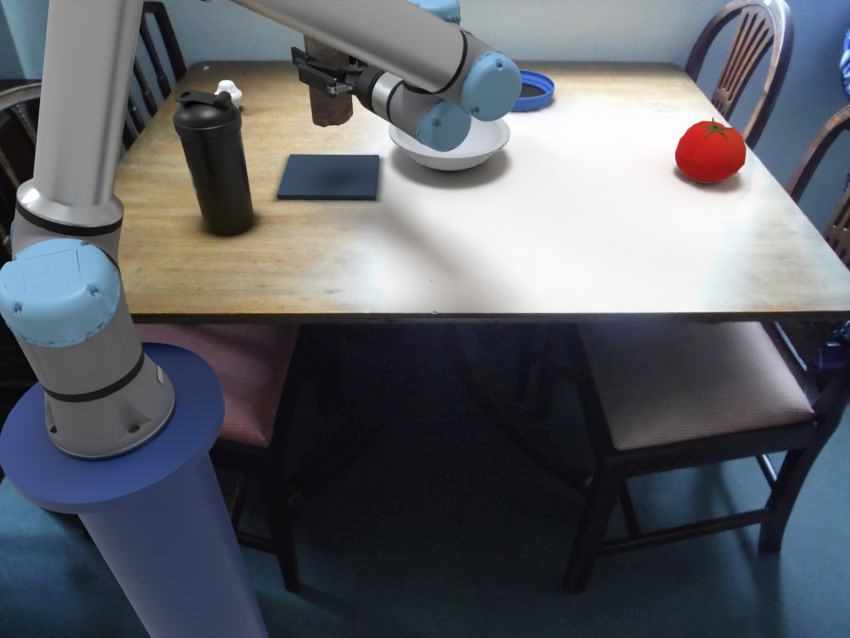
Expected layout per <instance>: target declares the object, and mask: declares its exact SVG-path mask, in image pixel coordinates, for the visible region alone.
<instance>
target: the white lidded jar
mask: <svg viewBox="0 0 850 638" xmlns="http://www.w3.org/2000/svg"><path fill="white" fill-rule="evenodd" d="M221 91H227V92H229V93H230V94H231V97H232V100H231V101H232V103H233V104H234V105H235V106H236V107H237V108H238V109H239V110H240V106H241V104H242V99H243V93H242V91H241V90H240V89H239V88H238V87H237V86H236V84H235V83H234V82H233V81H232V80H229V79H225V80H221V81H219V83H218V84H217V89H216V91H215V92H214V94H215V95H218V94H219V93H220V92H221Z"/></svg>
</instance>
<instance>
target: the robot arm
mask: <svg viewBox="0 0 850 638" xmlns="http://www.w3.org/2000/svg"><path fill="white" fill-rule="evenodd" d="M200 1H201V2H204V3H211V2H213V1H214V0H200ZM228 1H229V2H231V3H234V4H236V5H238V6H240V7H242V8H245V9H247V10H249V11H251V12H253V13H256V14H258V15H260V16H261V17H265V18H266V19H269V20H271V21H273V22H276V23H277V24H280V25H282V26H284V27H286V28H289V29H291V30H293V31H295V32H297V33H299V34H302V35H303V34H304V35H306V36H308V37H311V38H313V39H315V40H317V41H319V42H322V43H324V44H326V45H328V46H331V47H333V48H335V49H337V50H339V51H342V52H344V53H346V54H348V55H349V65H351V66H356V65H357V67H351V66H350V67H348V66H343V67H341V68H339V67H335V66H331V65H327V64H324V63H320V62H316V61H314V57H312V56H310V55H309V54H307V53H305V50H304V51H303V50H302V49H300V48H298V47H296V45H295V46H290V52H291V60H292V64H293V65H294V66H296V68H297V73H298V81H299V82H301V83H303V84H305V85H307V86H308V87H309V86H311V87H313V88H315V89H317V90H320V91H322V92H324V93H326V94H327V95H328V96H329V97H330V98H332V99H335V98H337V94H338V93H339V92H345V91H346V93H347V94H350V95H352V96H354V97H356V99H357V100H358V102H359V103H360V105H361V106H362V107H363V108H364V109H365V110H368V111H369V112H371V113H372V114H374V115H376V117H377V116H378V117H379V118H381V119H383V120H384V121H386V122H387V123H389V124H390V123H391V124H393V125H394V126H395V127H397V128H399V129H400V130H402V131H403V132H405V133H406V134H408V135H409V136H411V137H412V138H414V139H415V140H417V141H418V142H419V143H420V144H422V145H425V146H427V147H429V148H431V149H434V150H436V151H439V152H448V151H451V150H453V149H455V148H457V147H458V146H459V145H461V144H462V142H463V141H464V140H465V139H466V137H467V135H468V133H469V131H470V128H471V121H472V118H471V116H473V117H474V118H476V119H478V120H480V121H484V122H490V121H495V120H498V119H500V118H501V119H503V118H504V117H506V116H507V115H508V114H509V113H510V112H511V111H512V108H513V107H514V105H515V104H516V102H517V100H518V98H519V96H520V93H521V89H522V77H521V73H520V70H519V67H518V65H517V64H516V63H515V62H514V61H513V60H512V59H510V58H509V57H508V55H507V54H505V52H502V51H500V50H498V49H496V48H494V47H492V46H491V45H489V44H488V43H486V42H485V41H483V40H481V39H480V38H479V37H476V36H475V34H473V33H472V32H470V31H469V30H467V29H465V28H464V27H462V26H461V21H462V17H461V4H460V1H459V0H228ZM144 2H145V0H49V1H48V11H47V12H48V13H47V24H46V34H45V45H44V55H43V67H42V77H41V89H40V99H39V100H40V101H39V109H38V121H37V122H38V124H37V132H36V143H35V155H34V166H33V177H32V178H30V179H28V180H26V181H25V182H23V183H21V184H20V185H19V187H18V188H17V190H16V198H15V209H14V219H13V221H12V222H11V227H10V246H11V261H7V262H6V263H4V264H3V266H2V267H1V269H0V315H1V317H2V319H3V320H4V321H5V325H7V327H8V328H9V329H10V331H11V332H12V334H13V336H14V337H15V339H16V342H17V343H18V346H19V347H20V348H21V350H22V353H23V354H24V356H25V358H26V359H27V361H28V363H29V365H30V367H31V369H32V370H33V372H34V374H35V376H36V378H37V380H38V382H39V381H40V383H41V385H42V387H43V389H44V393H45V423H46V428H47V431H48V434H49V436H50V438H51V440H52V442H53V443H54V445H55V447H56V448H57V449H58V450H59V451H60V452H61V453H63V454H65V455H66V456H68V457H71V458H74V459H77V460H82V461H104V460H110V459H115V458H119V457H122V456H125V455H127V454H130V453H132V452H134V451H136V450H138V449H140V448H142V447H144V446H145V445H147V444H148V443H150V442H151V441H152V440H154V439H155V438H156V437H157V436H158V435H159V434H160V433H161V432H162V431H163V430H164V429H165V428H166V427H167V425H168V424H169V422H170V421H171V419H172V417H173V415H174V412H175V409H176V394H175V391H174V388H173V385H172V383H171V381H170V380H169V378H168V376H167V375H166V374H165V373H164V372H163V371H162V369H161V368H160V367H159V366H158V367H157V366H156V365H155V363H154V362H153V361H152V360H151V359H150V358H149V357H148V356H147V355H146V354H145V353H144V350H143V348H142V345H141V342H142V341H141V339H140V336H139V334H138V332H137V329H136V326H135V324H134V321H133V318H132V315H131V312H130V309H129V306H128V302H127V297H126V292H125V287H124V282H123V278H122V273H121V268H120V263H119V247H120V240H121V234H122V229H123V221H124V216H125V215H124V214H125V205H124V203H123V201H122V200H121V199H120V197H118V195H117V194H116V193H115V185H116V181H117V174H118V167H119V161H120V155H121V149H122V148H121V147H122V141H123V137H124V136H123V135H124V128H125V124H126V123H125V122H126V117H127V116H126V115H127V110H128V104H129V103H128V102H129V98H130V97H129V96H130V90H131V85H132V77H133V71H134V64H135V58H136V54H137V53H136V52H137V45H138V39H139V33H140V27H141V20H142V14H143V9H144Z"/></svg>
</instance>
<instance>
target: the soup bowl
mask: <svg viewBox="0 0 850 638" xmlns="http://www.w3.org/2000/svg"><path fill="white" fill-rule="evenodd" d="M471 118H472V121H471V128H470V131H469V133H468V135H467V137H466V139H465V140H464V141H463V142H462V144H461V145H459V146H458V147H457V148H455V149H453V150H451V151H448V152H439V151H436V150H434V149H431V148H429V147H427V146H425V145H422V144H420V143H419V142H418V141H417V140H415V139H414V138H412V137H411V136H409V135H408V134H406V133H405V132H403V131H402V130H400V129H399V128H397V127H395V126H394V125H393V124H391V123H389V126H388V136H389V138H390V140H391V141H392V142H393V144H395V146H397V147H399V148H400V149H402V151H403V152H404V153H405V154H406V155H407V156H408V157H409V158H410V159H411V160H413V161H414V162H416V163H418V164H420V165H422V166H423V167H427V168H430V169H434V170H438V171H461V170H466V169H470V168H473V167H476V166H478V165H480V164H482V163H484V162H486V161H487V160H488V159H490V158H491V157H492V156H493V155H495V153H496V152H498V151H499V150H501V149H502V148H503V147H505V146H506V145H507V144H508V142H509V141H510V137H511V128H510V126H509V125H508V123H507V122H506V121H505V120H504V119H503V118H500V119H498V120H495V121H490V122H484V121H480V120H478V119H476V118H474V117H473V116H471Z"/></svg>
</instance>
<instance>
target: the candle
mask: <svg viewBox="0 0 850 638" xmlns="http://www.w3.org/2000/svg"><path fill="white" fill-rule="evenodd" d="M302 36H303V45H304V52H305V53H307V54H309V55H310V56H312V57H314V61H316V62H320V63H324V64H327V65H331V66H335V67H339V68H341V67H343V66H348V67H351V66H350V64H349V55H348V54H346V53H344V52H342V51H339V50H337V49H335V48H333V47H331V46H328V45H326V44H324V43H322V42H319V41H317V40H315V39H313V38H311V37H308V36H306V35H304V34H302ZM308 93H309V104H310V110H311V119H312V124H313V125H314V126H318V127H321V128H327V127H332V126H336V127H339V126H341V125H344V124H346V123H347V122H349V121H350V120H351V118H352V117H353V115H354V104H353V103H354V102H353V95H350V94H347V93H346V91H345V92H339V93H338V94H337V98H335V99H332V98H330V97H329V96H328V95H327V94H326V93H324V92H322V91H320V90H317V89H315V88H313V87H311V86H309V85H308Z"/></svg>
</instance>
